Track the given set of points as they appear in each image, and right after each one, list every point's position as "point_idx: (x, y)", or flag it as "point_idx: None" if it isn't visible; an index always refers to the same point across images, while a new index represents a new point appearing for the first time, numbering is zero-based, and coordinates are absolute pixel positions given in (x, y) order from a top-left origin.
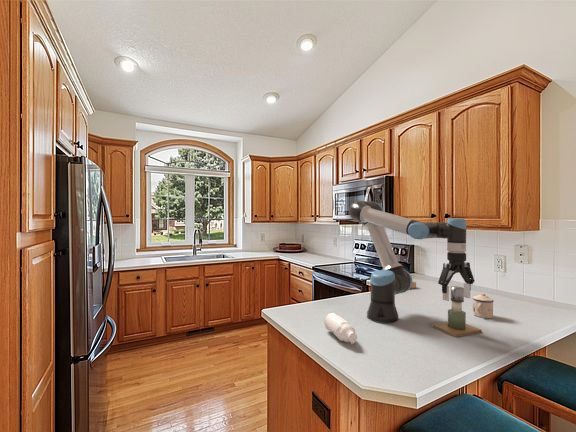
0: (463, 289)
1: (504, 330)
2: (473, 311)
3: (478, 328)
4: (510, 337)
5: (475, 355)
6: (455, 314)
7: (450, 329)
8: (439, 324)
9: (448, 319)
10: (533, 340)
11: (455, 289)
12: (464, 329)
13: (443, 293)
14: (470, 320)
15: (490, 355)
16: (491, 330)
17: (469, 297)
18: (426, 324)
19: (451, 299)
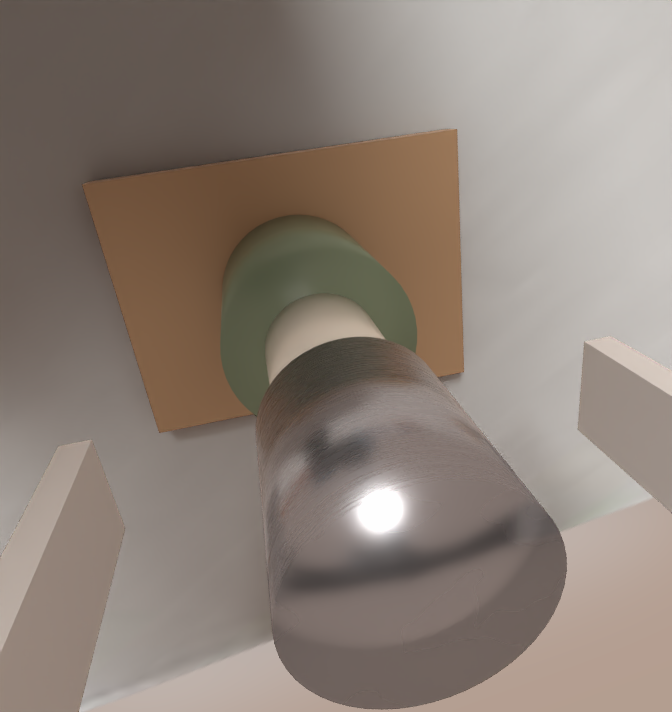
0: (470, 666)
1: (648, 352)
2: None
3: (459, 348)
4: (552, 458)
5: (97, 647)
6: (248, 403)
7: (192, 335)
8: (169, 195)
9: (225, 288)
10: (629, 504)
11: (296, 661)
12: None
13: (22, 548)
14: (636, 85)
15: (190, 646)
16: (561, 339)
17: (595, 435)
18: (65, 82)
19: (258, 426)
